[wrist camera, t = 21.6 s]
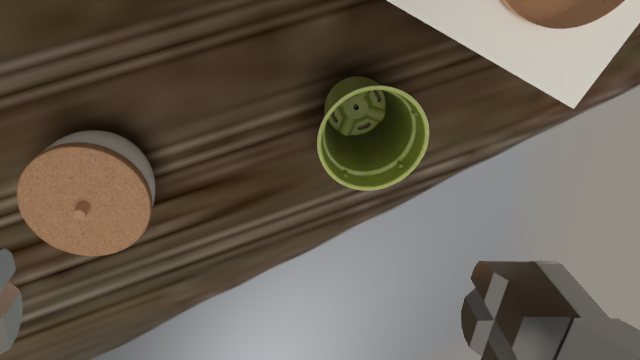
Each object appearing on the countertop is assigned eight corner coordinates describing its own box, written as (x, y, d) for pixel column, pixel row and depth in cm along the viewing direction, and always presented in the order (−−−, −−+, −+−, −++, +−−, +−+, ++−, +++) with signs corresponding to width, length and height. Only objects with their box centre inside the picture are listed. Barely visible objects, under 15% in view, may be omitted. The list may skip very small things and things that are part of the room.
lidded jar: (157, 112, 47) (136, 153, 39) (171, 210, 52) (155, 265, 44) (37, 114, 46) (-10, 157, 38) (63, 214, 51) (25, 271, 43)
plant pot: (416, 124, 51) (444, 160, 43) (332, 165, 52) (346, 208, 44) (380, 40, 47) (405, 65, 39) (290, 87, 48) (297, 119, 40)
